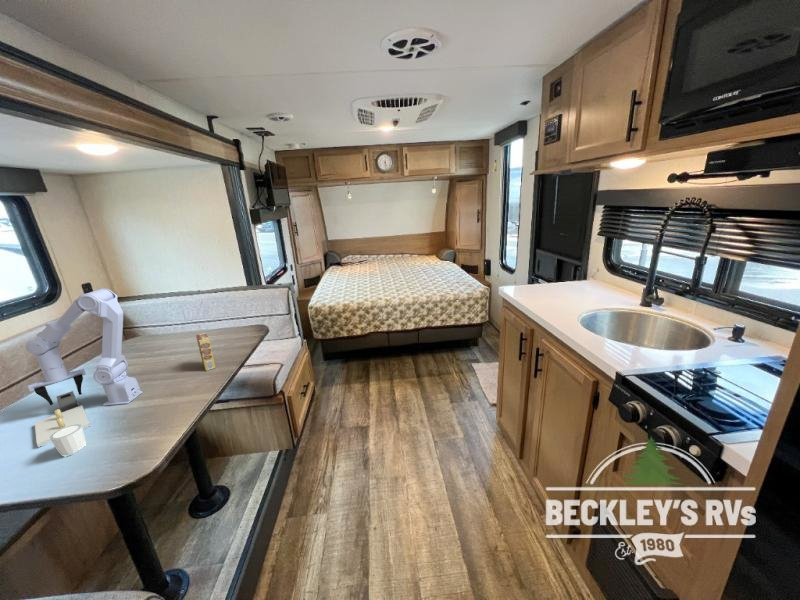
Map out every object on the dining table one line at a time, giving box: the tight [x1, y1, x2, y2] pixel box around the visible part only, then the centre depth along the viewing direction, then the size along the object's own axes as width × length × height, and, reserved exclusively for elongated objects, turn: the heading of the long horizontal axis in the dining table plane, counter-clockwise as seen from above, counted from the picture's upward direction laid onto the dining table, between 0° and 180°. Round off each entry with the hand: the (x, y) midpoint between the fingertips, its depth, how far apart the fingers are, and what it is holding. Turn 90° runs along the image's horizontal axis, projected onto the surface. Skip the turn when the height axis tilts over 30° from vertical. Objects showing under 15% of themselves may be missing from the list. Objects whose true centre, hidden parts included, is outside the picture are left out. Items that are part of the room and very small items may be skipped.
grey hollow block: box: [56, 390, 80, 413], centre depth 118 cm, size 6×4×5 cm
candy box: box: [195, 332, 216, 371], centre depth 142 cm, size 9×4×15 cm, turn 39°
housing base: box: [34, 405, 91, 448], centre depth 107 cm, size 18×12×5 cm, turn 51°
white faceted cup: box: [50, 424, 87, 456], centre depth 94 cm, size 7×7×7 cm
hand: (66, 398), depth 117 cm, fingers open, 7 cm apart
